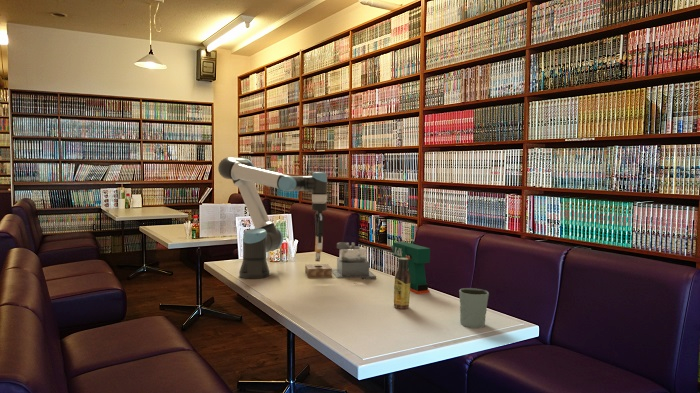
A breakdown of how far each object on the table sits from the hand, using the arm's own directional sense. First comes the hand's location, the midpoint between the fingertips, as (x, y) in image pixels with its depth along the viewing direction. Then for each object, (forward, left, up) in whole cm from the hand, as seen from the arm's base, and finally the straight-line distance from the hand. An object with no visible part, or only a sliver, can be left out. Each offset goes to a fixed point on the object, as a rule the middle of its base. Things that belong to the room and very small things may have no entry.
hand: (318, 248), depth 246 cm
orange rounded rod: (-1, 0, -6) cm, 7 cm away
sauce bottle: (+25, -61, -15) cm, 67 cm away
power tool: (+38, -25, -15) cm, 48 cm away
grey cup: (+44, -85, -15) cm, 97 cm away
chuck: (+17, 0, -6) cm, 18 cm away
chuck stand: (+18, 0, -14) cm, 23 cm away
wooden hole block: (0, 0, -14) cm, 14 cm away
